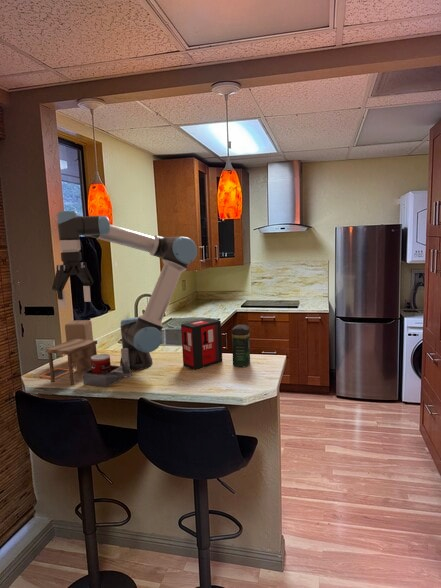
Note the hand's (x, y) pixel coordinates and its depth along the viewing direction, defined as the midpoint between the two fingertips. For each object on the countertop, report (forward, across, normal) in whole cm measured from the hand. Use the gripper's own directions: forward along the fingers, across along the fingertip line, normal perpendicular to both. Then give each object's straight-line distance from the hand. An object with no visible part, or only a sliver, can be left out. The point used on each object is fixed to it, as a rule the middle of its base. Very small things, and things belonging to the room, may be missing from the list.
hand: (75, 304), depth 159 cm
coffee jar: (+35, -45, +53) cm, 78 cm away
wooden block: (+35, -28, -27) cm, 52 cm away
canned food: (+35, -8, +3) cm, 36 cm away
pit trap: (+35, -8, -24) cm, 43 cm away
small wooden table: (+35, -8, -12) cm, 38 cm away
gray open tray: (+34, -8, +8) cm, 36 cm away
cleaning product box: (+35, -41, +35) cm, 64 cm away
